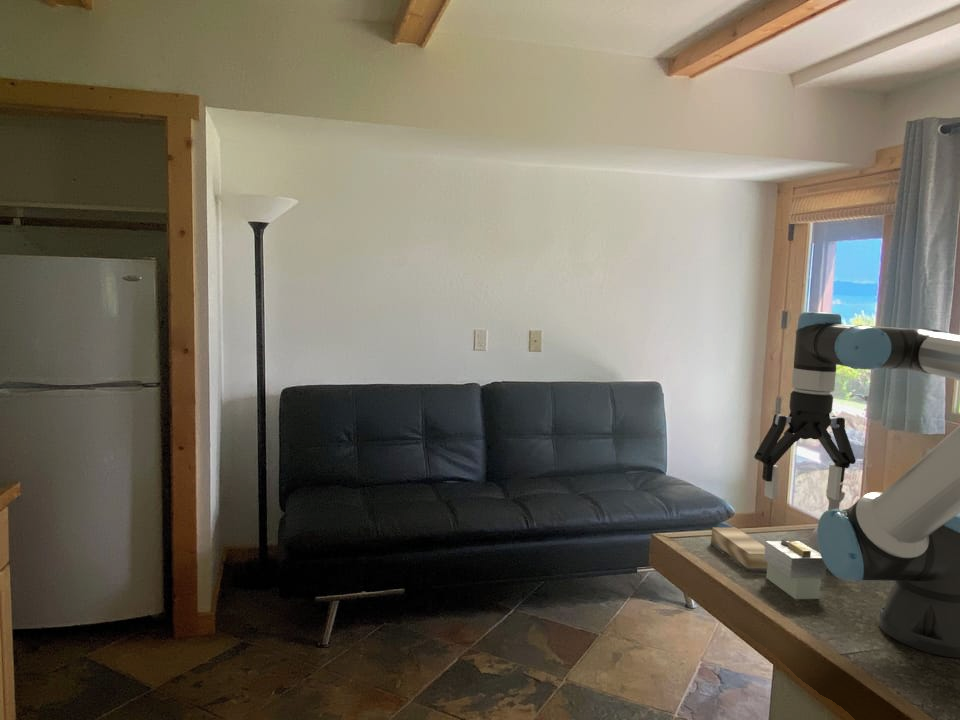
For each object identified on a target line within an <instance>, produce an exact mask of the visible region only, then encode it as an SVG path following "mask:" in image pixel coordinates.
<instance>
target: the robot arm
mask: <svg viewBox="0 0 960 720" xmlns="http://www.w3.org/2000/svg"><path fill="white" fill-rule="evenodd" d="M794 343H795V344H794V345H795V346H794V356H793V369H792V378H791V379H792V380H791V388H793V390H792V391H791V392H790V396H789V397H790V398H789V411H790V413H789V415H788V416H787V415H783V414H780V413H775V414H773V415H774V416H773V419H772V424H771V426H770V428H769V429H768V431H767V433H766V435H765V437H764V438H763V440H762V442H761V443H760V445H759V447H758V448H757V451H756V453H755V454H754V455H753V456H754V457H753V458H754V459H755V460H757V461H759V462H761V463H762V464H763V465H762V467H763V468H762V475H761V476H762V480H763V481H765V482H764V493H763V496H765V497H766V498H769V499H770V500H776V498H777V497H776V495H777V487H778V486H777V484H778V475H779V466H778V465H776V464H777V463H778V461H780V459H781V458H782V457H783V456H784V454H786V453H787V452H788V450H789V449H791V447H792V446H793V445H794V444H795V442H799V440H800V439H801V440H809V439H811V440H818V441H819V442H820V444H821V446H822V447H823V449H824V450H825V452H826V453H827V455H828V456H829V458H830V459H831V461H832V462H833V463H830V464H829V468H828V478H827V486H826V490H827V494H826V495H825V496H826V497H827V496H828V497H830V498H832V499H834V500H839V492H840V482H842V483H844V480H845V472H846V469H848V468H850V465H854V464H856V462H857V461H856V457H855V454H854V452H853V449H852V445H851V442H850V440H849V437H848V435H847V432H846V419H845V418H844V417H842V416H837V415H832V416H830V414H831V413H832V411H833V403H834V395H833V394H831V393H833V392H834V391H835V389H836V388H835V387H836V375H837V366H843V367H848V368H851V369H855V370H859V369H860V370H874V369H888V370H889V369H890V370H891V369H897V370H909V371H915V372H920V373H924V374H928V375H929V374H930V375H935V376H937V377H938V376H939V377H943V378H946V379H951V380H955V381H960V334H956V333H950V332H948V331H944V330H940V329H935V328H928V327H927V328H925V327H924V328H911V327H909V328H908V327H907V328H906V327H896V326H895V327H892V326H891V327H890V326H889V327H888V326H877V325H876V326H875V325H863V324H842V316H841V315H840V314H839V313H837V312H836V313H835V312H834V313H833V312H817V311H815V312H814V311H804V312H802V313H800V314H799V316H798V321H797V327H796V330H795V342H794ZM787 426H789V427H788V428H787V429H786V430H785V428H786V427H787ZM829 427H830V428H831V432H832V434H833V437H834V440H835V442H836V444H835V442H834V441H833V439H832V436H831V434H830V432H829V431H828V430H827V429H828V428H829ZM782 434H783V436H782ZM816 528H817V541H818V547H819V551H820V554H821V557H822V559H823V561H824V563H825V565H826V569H828V571H829V572H830V574H832V575H834V576H835V578H837V579H839V580H842V581H850V582H851V581H852V582H857V583H860V582H872V581H873V582H877V581H879V582H880V581H881V582H884V581H887V582H888V581H890V582H891V581H894V584H893V587H892V588H891V591H890V593H889V594H888V597H887V599H886V602H885V604H883V605H882V606H881V608H880V609H879V616H878V626H879V628H880V629H881V630H882V631H883V632H884V633H885V634H886V635H887V636H889V637H890V638H892V639H894V640H896V641H897V642H900V643H901V644H903V645H906V646H907V647H911V648H913V649H915V650H919V651H922V652H925V653H928V654H931V655H932V654H933V655H937V656H940V657H946V658H947V657H948V658H954V659H955V658H957V659H959V658H960V424H959V425H958V426H956V428H955V429H953V430H952V431H951V432H950V433H948V434H947V436H946V437H944V438H943V439H942V440H940V442H939V443H938V444H936V445H935V446H934V447H933V448H932V449H931V450H930V451H928V452H927V453H926V454H925V455H924V456H922V458H921V459H919V461H917V462H916V463H915V464H913V466H911V467H910V468H909V469H908V470H907V471H906V472H905V473H903V474H902V475H901V476H900V477H899V478H898V479H896V480H895V481H894V482H893V483H892V484H891V485H890V486H888V488H887V489H885V490H884V491H883V492H881V491H872V492H868V493H866V494H865V495H863V496H861V497H860V498H859V499H858V500H857V501H856V502H854V503H853V504H852V505H851V506H850V507H849V508H845V509H841V508H839V509H838V508H836V509H832V510H828V509H827V510H826V511H824V512H823V513H822V514H821V516H820V518H819V520H818V523H817V527H816Z"/></svg>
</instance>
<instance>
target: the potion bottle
mask: <svg viewBox="0 0 960 720" xmlns="http://www.w3.org/2000/svg"><path fill="white" fill-rule="evenodd" d="M843 486H844V482H840V492H839V500H834V499H832V498H830V497H828V496H826V498H827V500H828V507H827V508H828V509H827V511H828V510H832V509H836V508H838V509H840V507H841V506H840V504H841V502H842V501H843V500H844V498H845V495H846V493H845V492H844V491H842V490H843ZM825 493H826V494H827V489H826V491H825ZM807 546H808V547H810V548H812V549H813V550H815V551H817V552H818V553H820V551H819V547H818V541H817V527H815V528H814V530H813V531H812V533H811V536H810V538H809V541H808V543H807Z"/></svg>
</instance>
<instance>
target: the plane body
mask: <svg viewBox="0 0 960 720" xmlns="http://www.w3.org/2000/svg"><path fill="white" fill-rule="evenodd" d="M710 537H711V539H710V545H711V546H713V547H714V548H715V549H716V548H717V549H716V550H718V551H719V550H720V551H721V552H720V551H719V552H720V553H722V552H723V553H724V554H725V555H724V554H723V553H722V554H723V555H724V556H726V555H727V556H728V557H729V559H730V558H731V559H732V560H733V561H732V560H731V559H730V560H731V561H732V562H734V561H735V562H736V563H737V564H739V565H740V566H741V567H742V568H741V569H743V568H744V569H745V570H746V571H745V570H744V569H743V570H744V571H745V572H747V571H748V572H747V573H767V565H768V563H767V562H766V561H765V560H764V554H765V546H764V545H763V544H762V543H761V542H759V541H757V540H756V539H754V538H752V537H751V536H750V535H748V534H747V533H745V532H743V531H742V530H740V529H739V528H737V527H712V529H711V535H710ZM727 556H726V557H727ZM728 557H727V558H728ZM735 562H734V563H735ZM736 563H735V564H736ZM737 564H736V565H737ZM739 565H738V566H739ZM740 566H739V567H740ZM749 571H750V572H749Z"/></svg>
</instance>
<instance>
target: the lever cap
mask: <svg viewBox="0 0 960 720" xmlns="http://www.w3.org/2000/svg"><path fill="white" fill-rule="evenodd" d="M764 560H765V561H766V562H767V563H769V564H770V565H772V566H773V567H775V568H776V569H777V570H779V571H780V572H782V573H783V574H785V575H786V576H787V577H789V578H820V579H825V578H826V575H827V574H826V573H827V567H826V565H825V563H824V561H823V559H822V557H821V554H820V553H818V552H817V551H815V550H813V549H812V548H810V547H809V546H808V544H807V545H806V544H805V543H803V542H802V541H799V540H794V541H793V540H791V539H786V538H783V539H781V540H769V541H768V540H767V541H765V554H764Z"/></svg>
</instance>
